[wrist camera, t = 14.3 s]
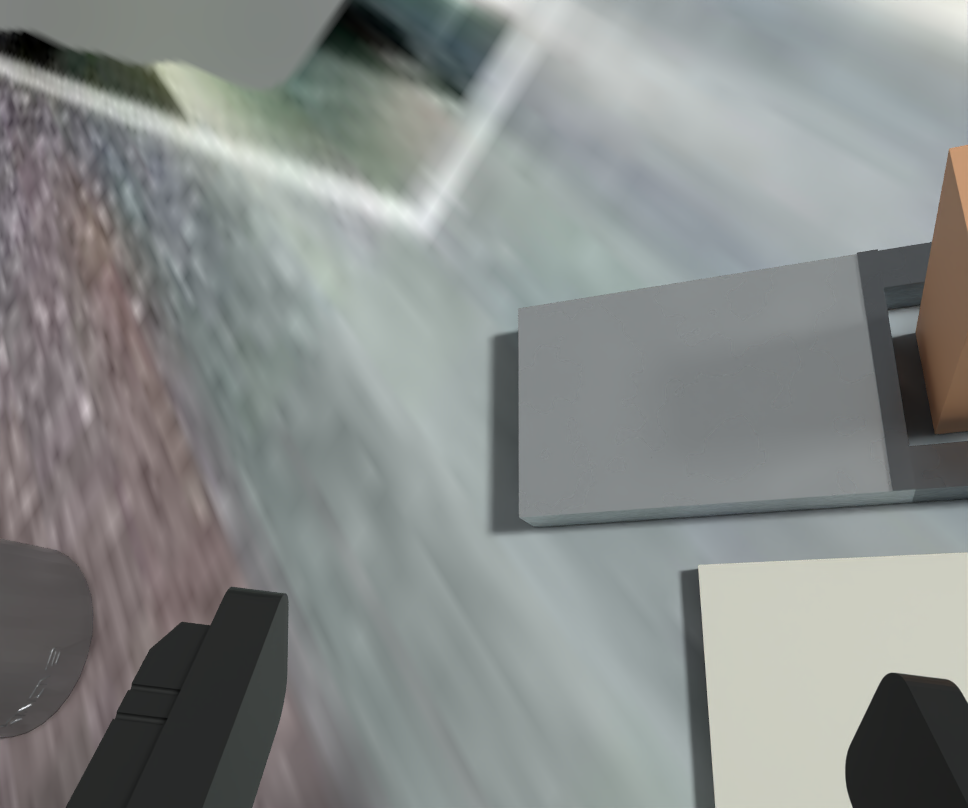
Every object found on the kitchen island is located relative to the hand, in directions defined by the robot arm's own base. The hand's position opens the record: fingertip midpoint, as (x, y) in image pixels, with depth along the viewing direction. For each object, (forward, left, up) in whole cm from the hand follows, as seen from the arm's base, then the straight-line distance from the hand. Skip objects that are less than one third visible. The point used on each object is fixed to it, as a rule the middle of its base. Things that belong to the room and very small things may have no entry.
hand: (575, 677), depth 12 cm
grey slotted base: (-2, +12, -21) cm, 25 cm away
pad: (+3, +2, -21) cm, 22 cm away
